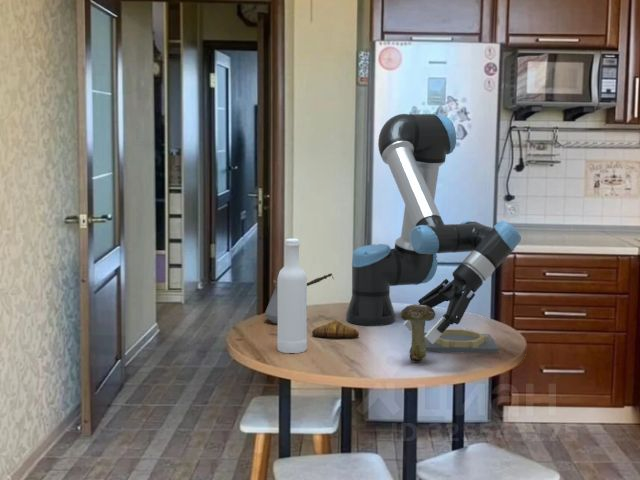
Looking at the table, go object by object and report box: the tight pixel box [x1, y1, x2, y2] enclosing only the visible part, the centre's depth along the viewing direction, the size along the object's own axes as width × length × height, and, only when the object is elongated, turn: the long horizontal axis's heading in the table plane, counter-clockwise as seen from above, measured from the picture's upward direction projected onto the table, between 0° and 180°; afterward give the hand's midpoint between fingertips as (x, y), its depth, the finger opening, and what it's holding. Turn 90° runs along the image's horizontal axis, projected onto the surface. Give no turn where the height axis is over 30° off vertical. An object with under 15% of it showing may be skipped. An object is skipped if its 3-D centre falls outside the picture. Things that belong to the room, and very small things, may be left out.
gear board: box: [424, 328, 500, 354], centre depth 217 cm, size 20×16×3 cm
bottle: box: [276, 238, 308, 354], centre depth 209 cm, size 8×8×30 cm
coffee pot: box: [264, 273, 335, 325], centre depth 243 cm, size 21×12×15 cm, turn 95°
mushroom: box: [400, 303, 436, 363], centre depth 199 cm, size 9×9×15 cm
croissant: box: [311, 320, 360, 339], centre depth 225 cm, size 14×7×5 cm, turn 83°
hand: (417, 333), depth 199 cm, fingers open, 13 cm apart
